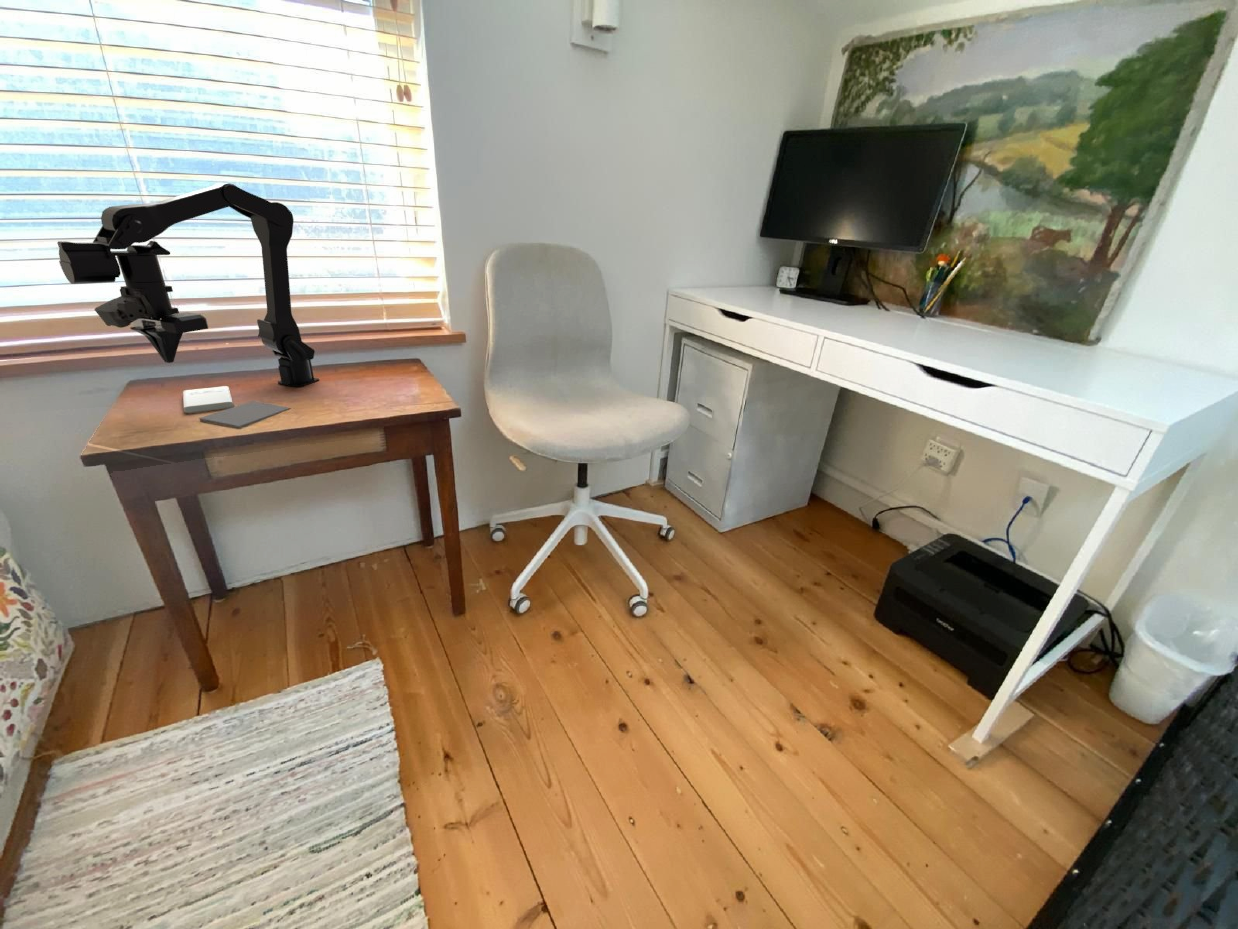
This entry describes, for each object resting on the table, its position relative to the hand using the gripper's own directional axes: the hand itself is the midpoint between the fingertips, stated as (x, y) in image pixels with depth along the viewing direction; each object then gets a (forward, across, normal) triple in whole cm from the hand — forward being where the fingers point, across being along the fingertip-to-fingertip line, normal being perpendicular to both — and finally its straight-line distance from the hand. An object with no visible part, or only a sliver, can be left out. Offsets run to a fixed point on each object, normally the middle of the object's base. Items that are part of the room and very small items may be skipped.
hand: (169, 362), depth 106 cm
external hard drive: (+9, +6, +1) cm, 11 cm away
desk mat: (+10, +14, +2) cm, 17 cm away
